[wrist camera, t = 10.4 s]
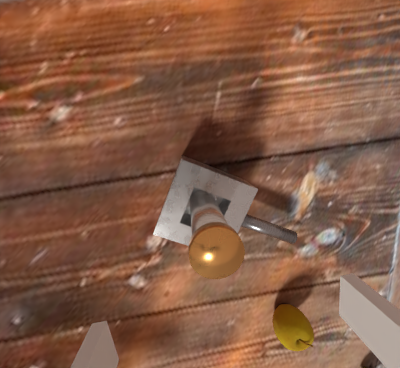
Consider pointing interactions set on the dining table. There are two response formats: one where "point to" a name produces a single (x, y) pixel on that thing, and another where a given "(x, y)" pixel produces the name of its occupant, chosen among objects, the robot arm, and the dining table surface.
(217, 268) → the grey gold cylinder
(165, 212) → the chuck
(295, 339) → the apple
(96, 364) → the robot arm
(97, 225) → the dining table surface
